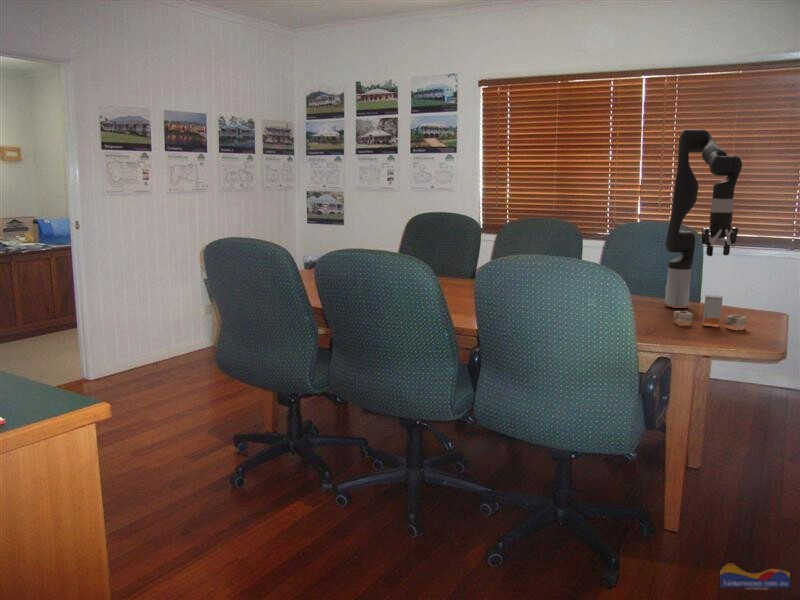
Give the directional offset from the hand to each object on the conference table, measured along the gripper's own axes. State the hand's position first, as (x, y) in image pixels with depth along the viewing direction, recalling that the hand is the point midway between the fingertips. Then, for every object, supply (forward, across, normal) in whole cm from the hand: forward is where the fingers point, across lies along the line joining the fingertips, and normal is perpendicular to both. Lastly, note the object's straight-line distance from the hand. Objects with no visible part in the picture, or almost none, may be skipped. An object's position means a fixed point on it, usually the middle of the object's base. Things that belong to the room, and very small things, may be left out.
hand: (717, 255), depth 252 cm
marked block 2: (+28, -6, +6) cm, 29 cm away
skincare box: (+28, 0, 0) cm, 28 cm away
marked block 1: (+28, +9, -5) cm, 30 cm away
